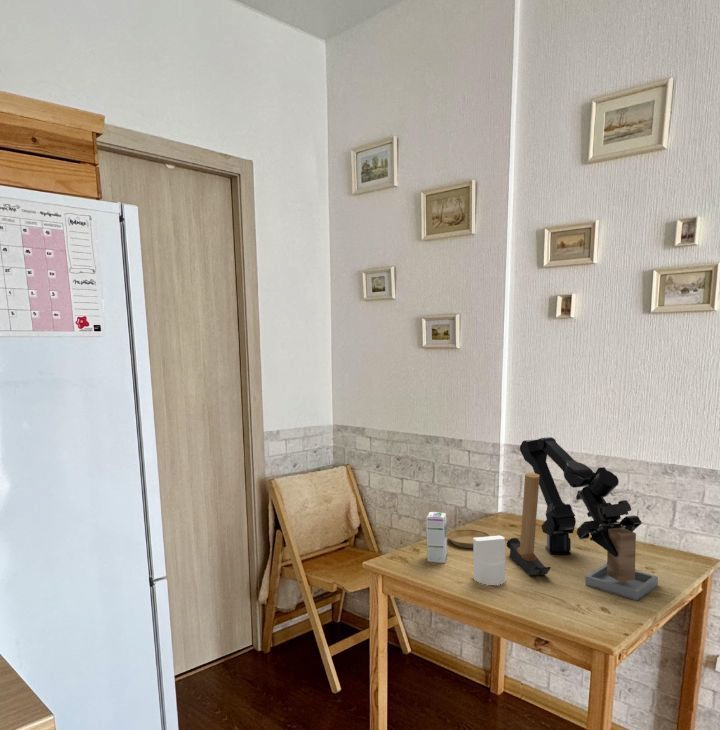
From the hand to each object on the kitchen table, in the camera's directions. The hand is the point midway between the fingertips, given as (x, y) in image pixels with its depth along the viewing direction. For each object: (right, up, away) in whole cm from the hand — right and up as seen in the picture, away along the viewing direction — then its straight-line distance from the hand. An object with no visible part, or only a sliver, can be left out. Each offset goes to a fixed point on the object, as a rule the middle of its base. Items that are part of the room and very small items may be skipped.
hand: (624, 555), depth 151 cm
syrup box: (-49, -10, +23) cm, 55 cm away
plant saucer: (-36, -9, +38) cm, 53 cm away
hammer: (-22, -9, +16) cm, 29 cm away
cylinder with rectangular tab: (-36, -10, +7) cm, 38 cm away
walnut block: (-1, -7, +1) cm, 7 cm away
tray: (0, -9, +1) cm, 9 cm away
